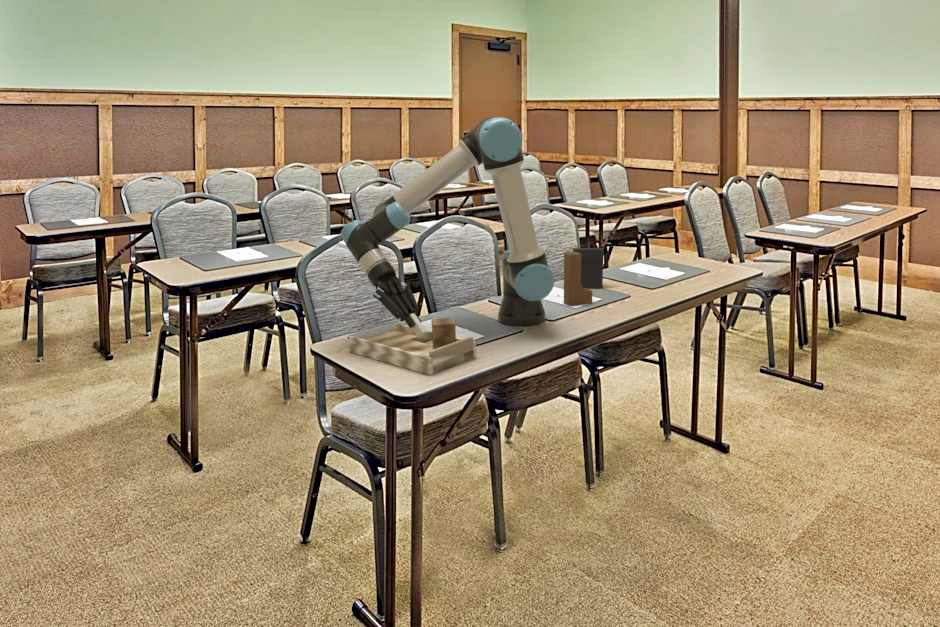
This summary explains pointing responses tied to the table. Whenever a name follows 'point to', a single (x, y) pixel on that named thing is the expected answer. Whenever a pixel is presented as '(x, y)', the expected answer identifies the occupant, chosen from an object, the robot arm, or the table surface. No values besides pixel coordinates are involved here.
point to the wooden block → (574, 281)
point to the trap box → (413, 350)
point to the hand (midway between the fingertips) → (422, 334)
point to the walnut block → (443, 332)
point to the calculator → (591, 267)
